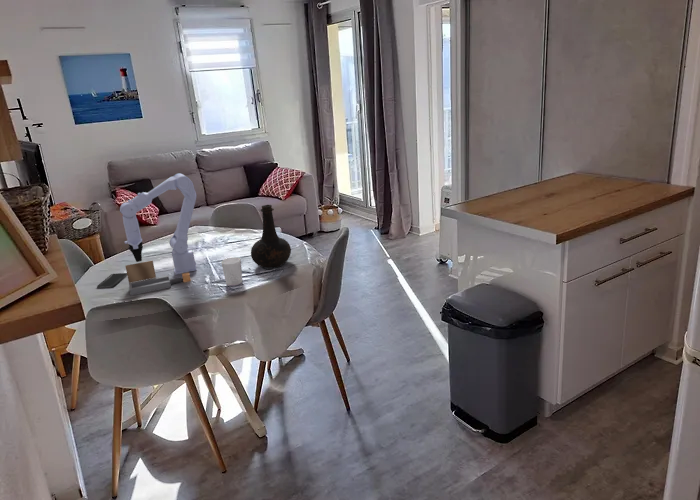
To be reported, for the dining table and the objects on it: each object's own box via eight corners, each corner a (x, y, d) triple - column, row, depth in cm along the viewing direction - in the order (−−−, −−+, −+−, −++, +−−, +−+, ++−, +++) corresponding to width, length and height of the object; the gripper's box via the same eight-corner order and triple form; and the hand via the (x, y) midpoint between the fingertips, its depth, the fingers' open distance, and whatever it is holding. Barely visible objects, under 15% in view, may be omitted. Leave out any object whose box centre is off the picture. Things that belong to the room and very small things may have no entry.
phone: (95, 287, 219) (111, 273, 233) (96, 289, 219) (112, 276, 233) (113, 286, 218) (128, 272, 232) (114, 288, 219) (129, 275, 233)
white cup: (221, 283, 215) (217, 261, 212) (237, 277, 220) (233, 256, 217) (231, 288, 209) (227, 265, 206) (247, 282, 215) (244, 259, 211)
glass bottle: (245, 269, 229) (236, 209, 219) (267, 256, 244) (260, 199, 234) (278, 274, 221) (270, 212, 212) (299, 260, 236) (293, 201, 227)
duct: (169, 280, 222) (168, 275, 221) (170, 287, 215) (169, 281, 214) (130, 288, 216) (129, 283, 215) (130, 295, 209) (129, 289, 208)
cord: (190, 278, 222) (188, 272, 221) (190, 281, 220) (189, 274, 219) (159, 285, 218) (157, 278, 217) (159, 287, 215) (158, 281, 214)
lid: (156, 277, 219) (156, 277, 220) (152, 260, 218) (152, 260, 218) (128, 282, 215) (129, 282, 216) (125, 265, 214) (125, 265, 214)
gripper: (122, 227, 222) (128, 256, 227) (122, 236, 210) (129, 266, 214) (139, 225, 225) (145, 253, 229) (140, 233, 212) (147, 263, 217)
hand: (138, 260), depth 222 cm, fingers open, 3 cm apart
